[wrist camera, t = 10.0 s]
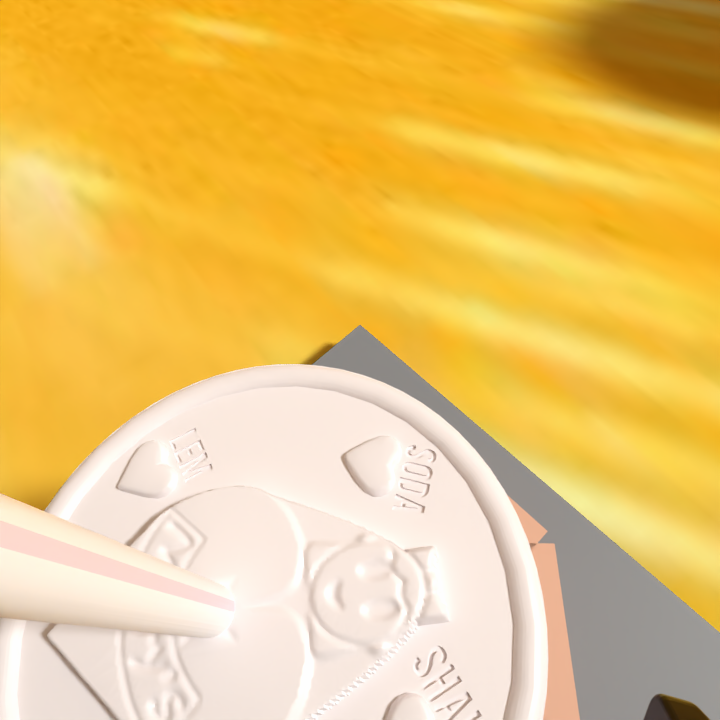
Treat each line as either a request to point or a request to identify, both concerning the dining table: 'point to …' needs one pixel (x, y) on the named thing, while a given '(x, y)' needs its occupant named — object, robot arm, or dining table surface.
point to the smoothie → (273, 566)
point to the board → (577, 581)
